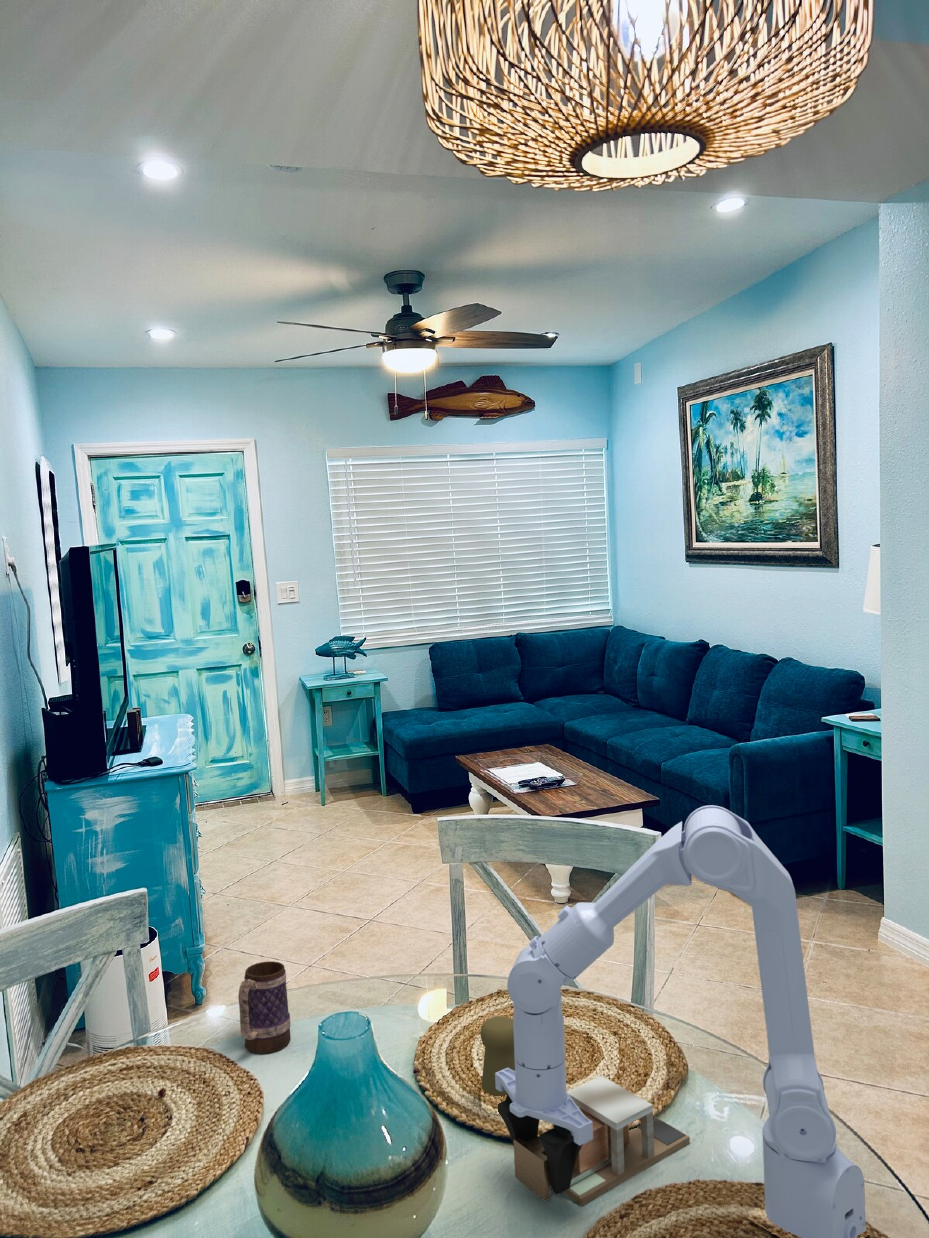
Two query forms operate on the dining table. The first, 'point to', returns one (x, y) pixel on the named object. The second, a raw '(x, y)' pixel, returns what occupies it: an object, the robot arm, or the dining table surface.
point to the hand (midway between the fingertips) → (544, 1176)
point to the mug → (264, 1008)
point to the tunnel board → (644, 1141)
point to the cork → (497, 1051)
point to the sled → (590, 1159)
